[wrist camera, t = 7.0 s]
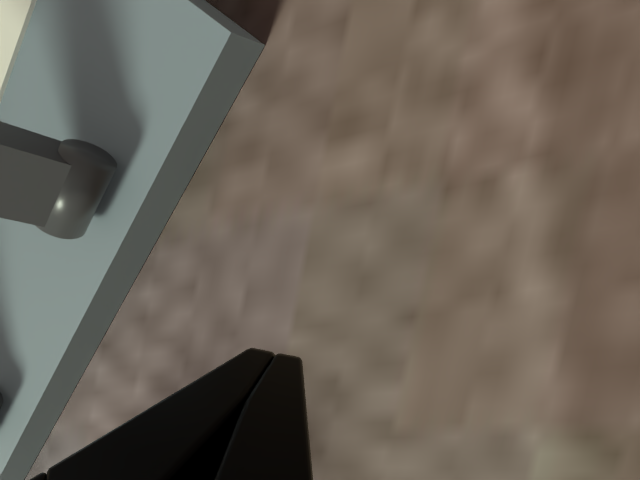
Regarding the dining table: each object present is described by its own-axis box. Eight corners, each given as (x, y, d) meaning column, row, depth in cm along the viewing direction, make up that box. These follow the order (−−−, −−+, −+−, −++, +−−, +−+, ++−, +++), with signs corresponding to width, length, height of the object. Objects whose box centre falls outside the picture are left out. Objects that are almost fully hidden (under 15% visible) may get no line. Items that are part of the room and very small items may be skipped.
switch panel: (265, 45, 19) (228, 31, 16) (16, 494, 30) (-29, 526, 27) (85, -90, 21) (27, -121, 18) (-89, 382, 32) (-140, 403, 29)
